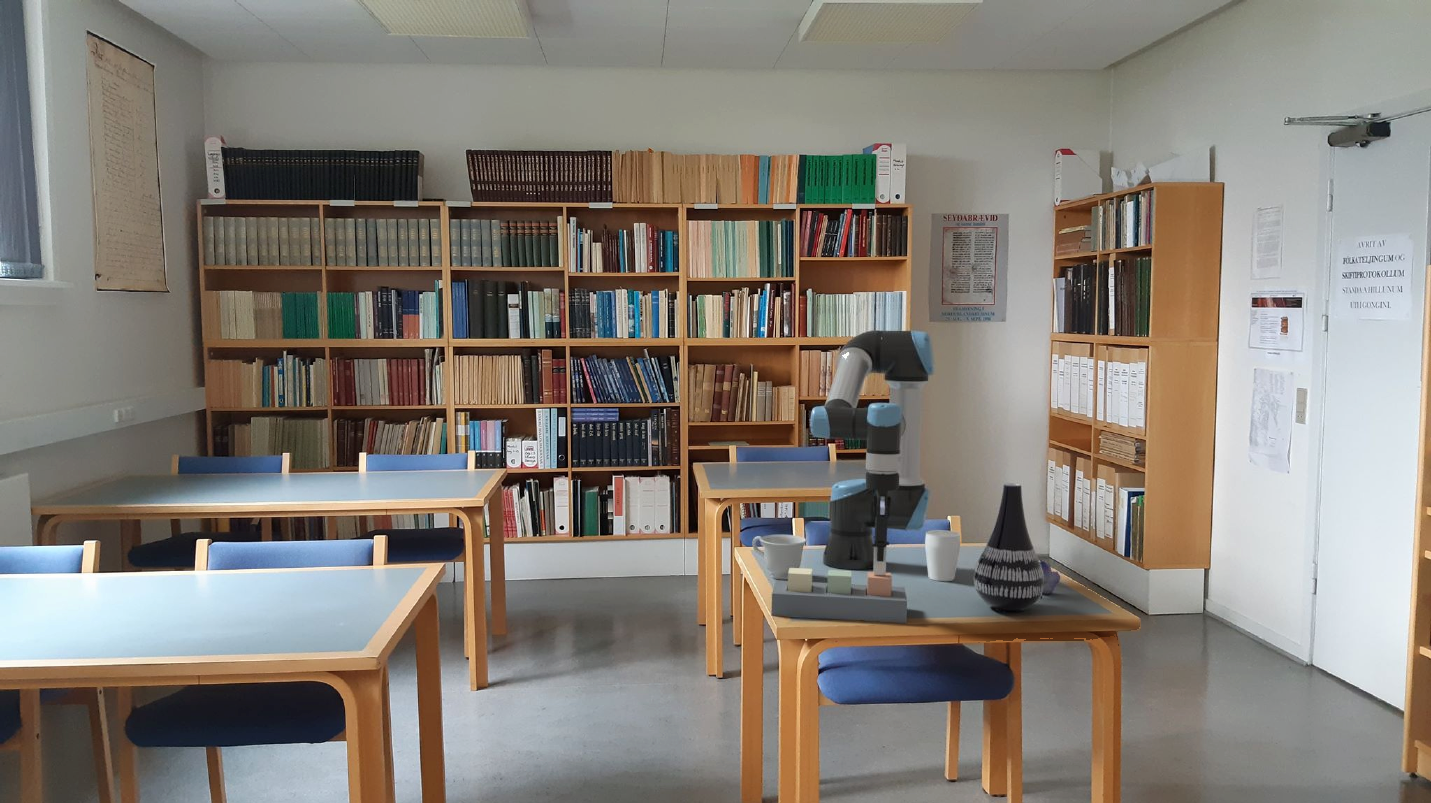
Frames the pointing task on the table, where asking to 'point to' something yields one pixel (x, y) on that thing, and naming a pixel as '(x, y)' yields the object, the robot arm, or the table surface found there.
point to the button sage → (839, 582)
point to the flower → (1049, 578)
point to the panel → (839, 603)
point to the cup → (942, 554)
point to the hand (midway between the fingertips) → (879, 574)
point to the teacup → (780, 553)
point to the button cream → (800, 580)
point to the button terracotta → (879, 584)
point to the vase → (1009, 559)
